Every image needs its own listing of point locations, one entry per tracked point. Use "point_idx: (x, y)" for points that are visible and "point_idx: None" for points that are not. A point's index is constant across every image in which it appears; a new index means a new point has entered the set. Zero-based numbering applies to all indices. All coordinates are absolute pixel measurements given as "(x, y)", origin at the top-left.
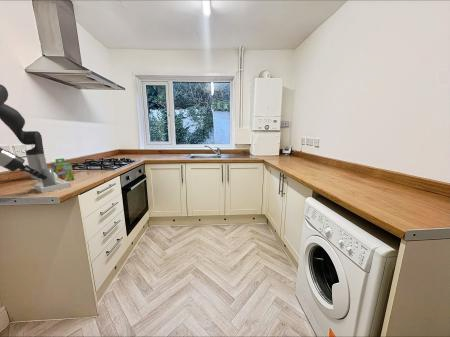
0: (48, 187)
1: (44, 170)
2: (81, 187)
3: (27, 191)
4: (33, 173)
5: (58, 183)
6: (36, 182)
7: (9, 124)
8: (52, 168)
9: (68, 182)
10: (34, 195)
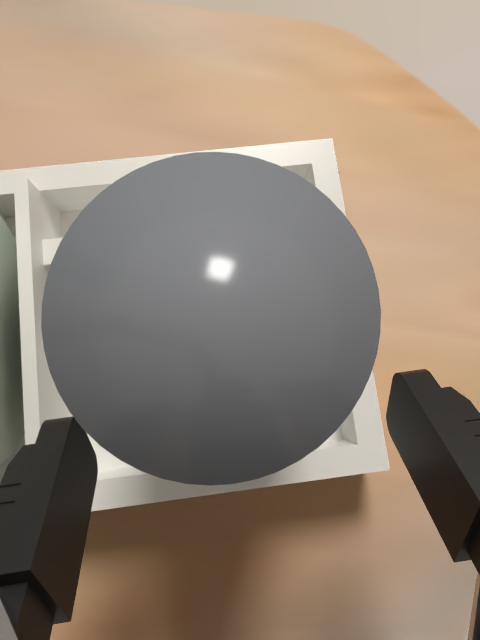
0: (372, 386)
1: (367, 373)
2: (442, 107)
3: (82, 586)
4: (45, 605)
5: None
6: None
7: None
8: (249, 157)
9: (314, 155)
10: (412, 536)
